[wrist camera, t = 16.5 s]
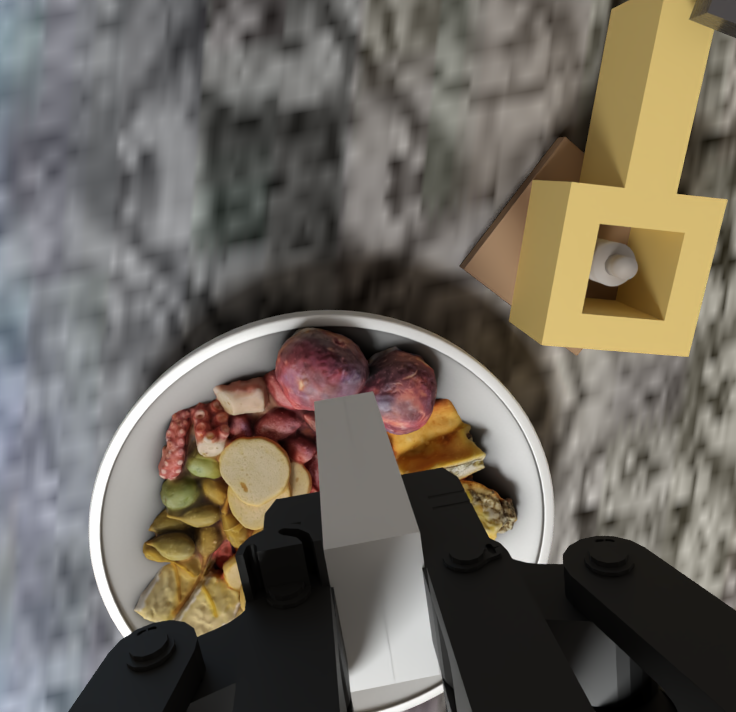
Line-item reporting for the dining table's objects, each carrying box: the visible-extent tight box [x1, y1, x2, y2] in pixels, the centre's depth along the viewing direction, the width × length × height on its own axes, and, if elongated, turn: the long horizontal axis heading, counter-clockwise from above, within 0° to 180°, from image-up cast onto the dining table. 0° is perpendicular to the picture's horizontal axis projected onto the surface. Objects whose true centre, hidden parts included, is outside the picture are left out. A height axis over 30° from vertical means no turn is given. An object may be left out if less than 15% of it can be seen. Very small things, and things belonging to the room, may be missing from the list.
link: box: [509, 0, 727, 357], centre depth 38 cm, size 19×9×6 cm, turn 174°
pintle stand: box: [460, 137, 638, 355], centre depth 39 cm, size 10×10×9 cm
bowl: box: [89, 310, 554, 712], centre depth 43 cm, size 30×30×8 cm
